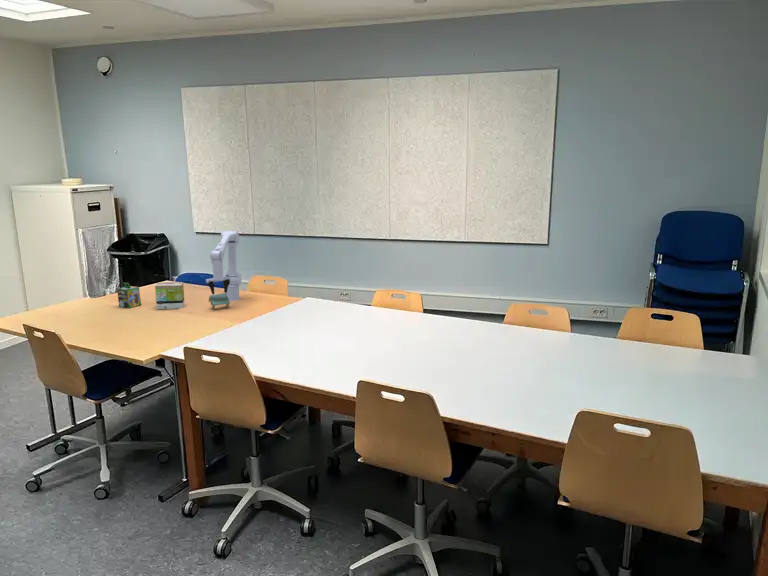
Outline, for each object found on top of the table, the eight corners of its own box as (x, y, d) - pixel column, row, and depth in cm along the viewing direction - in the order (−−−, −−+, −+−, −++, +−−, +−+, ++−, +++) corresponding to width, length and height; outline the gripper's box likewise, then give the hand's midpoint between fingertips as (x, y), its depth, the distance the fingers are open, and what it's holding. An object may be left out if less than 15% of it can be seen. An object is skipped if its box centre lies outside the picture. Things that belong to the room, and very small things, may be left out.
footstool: (208, 300, 336) (209, 295, 333) (224, 298, 342) (226, 293, 339) (212, 309, 333) (213, 304, 330) (228, 307, 339) (230, 302, 336)
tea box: (156, 310, 334) (154, 285, 331) (159, 306, 343) (157, 282, 340) (183, 308, 337) (181, 284, 334) (185, 304, 347) (183, 281, 344)
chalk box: (141, 305, 345) (139, 281, 342) (128, 308, 337) (126, 284, 334) (131, 303, 349) (128, 280, 346) (118, 306, 341) (115, 283, 338)
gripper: (208, 273, 324) (209, 296, 327) (232, 270, 332) (233, 292, 335) (204, 271, 329) (205, 293, 332) (227, 268, 338) (229, 290, 341)
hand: (219, 293), depth 334 cm, fingers open, 7 cm apart
